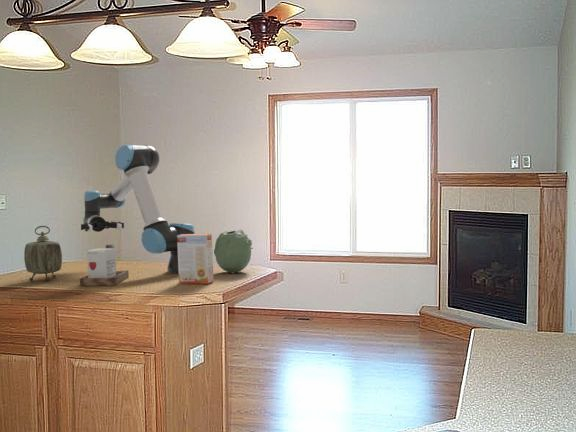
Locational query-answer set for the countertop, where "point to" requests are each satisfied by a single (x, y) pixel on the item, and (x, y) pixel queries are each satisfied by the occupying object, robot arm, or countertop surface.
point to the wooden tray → (105, 281)
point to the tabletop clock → (43, 256)
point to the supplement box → (101, 263)
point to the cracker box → (195, 258)
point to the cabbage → (233, 251)
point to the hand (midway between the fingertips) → (106, 228)
